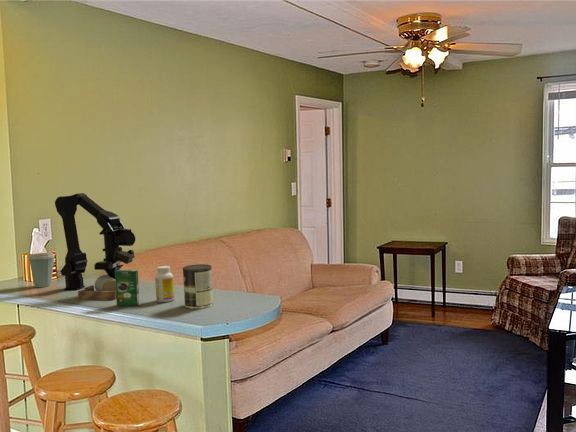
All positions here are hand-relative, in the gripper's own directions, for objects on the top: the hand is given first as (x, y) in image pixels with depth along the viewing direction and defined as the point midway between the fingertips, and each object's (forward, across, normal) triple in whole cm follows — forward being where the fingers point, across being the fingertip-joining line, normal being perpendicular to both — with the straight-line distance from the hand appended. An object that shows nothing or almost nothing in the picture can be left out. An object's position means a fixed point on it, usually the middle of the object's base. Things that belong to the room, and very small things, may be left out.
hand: (114, 283), depth 238 cm
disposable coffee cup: (+4, +9, +40) cm, 41 cm away
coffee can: (+4, -19, -45) cm, 49 cm away
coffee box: (+4, -21, -18) cm, 28 cm away
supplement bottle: (+4, -13, -29) cm, 32 cm away
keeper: (+4, -7, 0) cm, 8 cm away
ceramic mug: (+4, -5, -1) cm, 7 cm away
